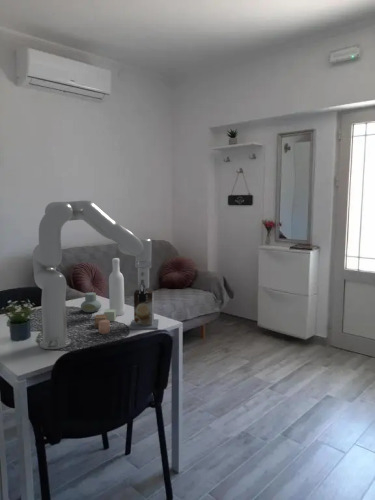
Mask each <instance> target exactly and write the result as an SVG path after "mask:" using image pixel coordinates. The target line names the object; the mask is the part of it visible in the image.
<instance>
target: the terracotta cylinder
mask: <svg viewBox="0 0 375 500" xmlns="http://www.w3.org/2000/svg"><path fill="white" fill-rule="evenodd" d="M110 323H111V322H110V321H109V320H101V321H99V328H98V333H99V334H103V335H106V334H109V333H110V332H111V328H110V327H111V325H110Z"/></svg>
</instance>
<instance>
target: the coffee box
mask: <svg viewBox="0 0 375 500" xmlns="http://www.w3.org/2000/svg"><path fill="white" fill-rule="evenodd" d="M154 292H155V291H154V290H153V289H151V290H150V289H149V290H148V289H147V290H145V293H146V302H139V289H135V290H134V292H133V320H134V325H149V326H152V325H153V322H154V319H155V318H154V317H155V315H154V314H155V312H154V311H155V307H154V305H155V303H154V301H155V300H154V298H155V293H154Z"/></svg>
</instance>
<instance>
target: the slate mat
mask: <svg viewBox="0 0 375 500" xmlns="http://www.w3.org/2000/svg"><path fill="white" fill-rule="evenodd" d="M129 330H132V331H133V330H134V331H135V330H159V319H155V318H154V322H153V325H152V326H149V325H134V319H132V321H131V324H130V326H129Z"/></svg>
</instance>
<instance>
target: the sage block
mask: <svg viewBox="0 0 375 500" xmlns="http://www.w3.org/2000/svg"><path fill="white" fill-rule="evenodd" d="M103 315H107V320H109V321H115V322H116V319H117V316H116V309H110V308H108V309H105V310H104V313H103Z"/></svg>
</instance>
